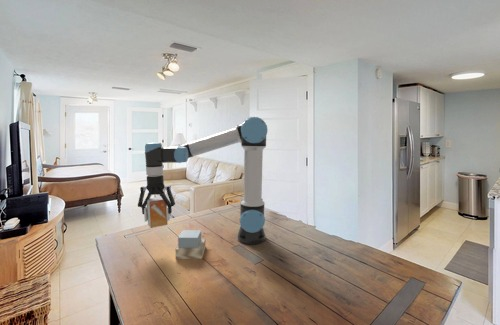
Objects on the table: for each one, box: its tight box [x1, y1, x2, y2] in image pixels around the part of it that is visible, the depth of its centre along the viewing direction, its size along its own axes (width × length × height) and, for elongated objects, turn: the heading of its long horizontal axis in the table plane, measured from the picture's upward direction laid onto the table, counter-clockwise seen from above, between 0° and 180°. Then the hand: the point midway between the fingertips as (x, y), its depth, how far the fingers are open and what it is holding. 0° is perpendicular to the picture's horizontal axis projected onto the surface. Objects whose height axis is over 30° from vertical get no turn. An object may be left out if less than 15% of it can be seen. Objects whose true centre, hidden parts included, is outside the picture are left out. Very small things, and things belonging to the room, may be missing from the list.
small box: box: [146, 196, 168, 229], centre depth 124 cm, size 8×6×13 cm
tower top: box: [177, 229, 202, 248], centre depth 122 cm, size 9×9×5 cm
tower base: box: [175, 237, 207, 260], centre depth 123 cm, size 12×12×5 cm
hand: (157, 220), depth 125 cm, fingers closed on small box, 10 cm apart
